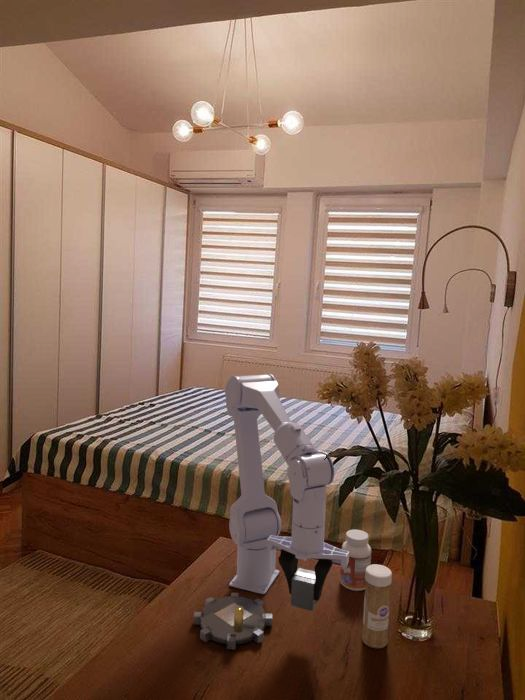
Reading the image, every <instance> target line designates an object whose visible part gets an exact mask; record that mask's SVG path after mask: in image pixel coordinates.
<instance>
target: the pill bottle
mask: <svg viewBox="0 0 525 700" xmlns="http://www.w3.org/2000/svg"><path fill="white" fill-rule="evenodd" d="M369 536H370V535H369V533H367V532H366V531H364V530H361V529H348V531H346V533H345V541H344V542H343V543H342V545H341V549H342V550H345V551H349V562H348V565H347V567H343V566H341V565H340V572H339V573H340V577H339V581H340V584H341V585H342V586H343V587H344V588H346V590H347V589H348V590H350V591H354V592H359V591H365V587H366V581H365V571H366V568H367V567H368V566H369V565H372V564H371V563H372V561H371V560H372V547H371V546H370V545H369Z"/></svg>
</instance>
